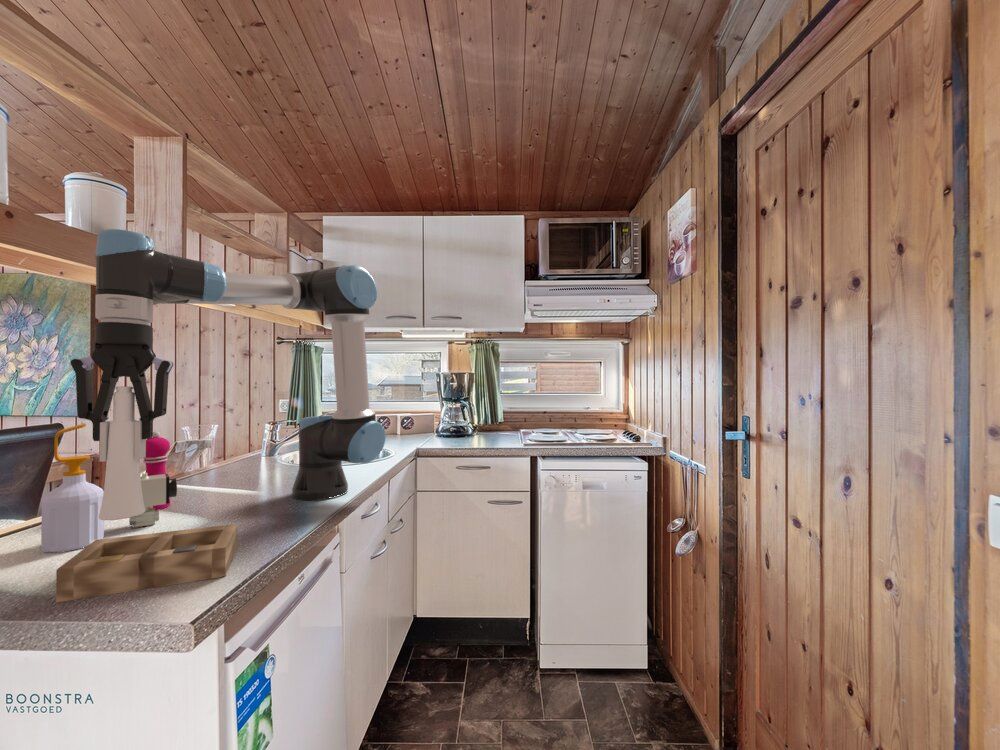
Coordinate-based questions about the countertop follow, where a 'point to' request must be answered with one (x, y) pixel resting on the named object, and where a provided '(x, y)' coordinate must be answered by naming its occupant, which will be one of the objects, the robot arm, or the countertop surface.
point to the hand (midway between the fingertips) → (123, 458)
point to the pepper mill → (156, 458)
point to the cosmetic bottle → (122, 462)
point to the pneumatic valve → (154, 497)
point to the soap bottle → (71, 507)
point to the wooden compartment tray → (147, 562)
